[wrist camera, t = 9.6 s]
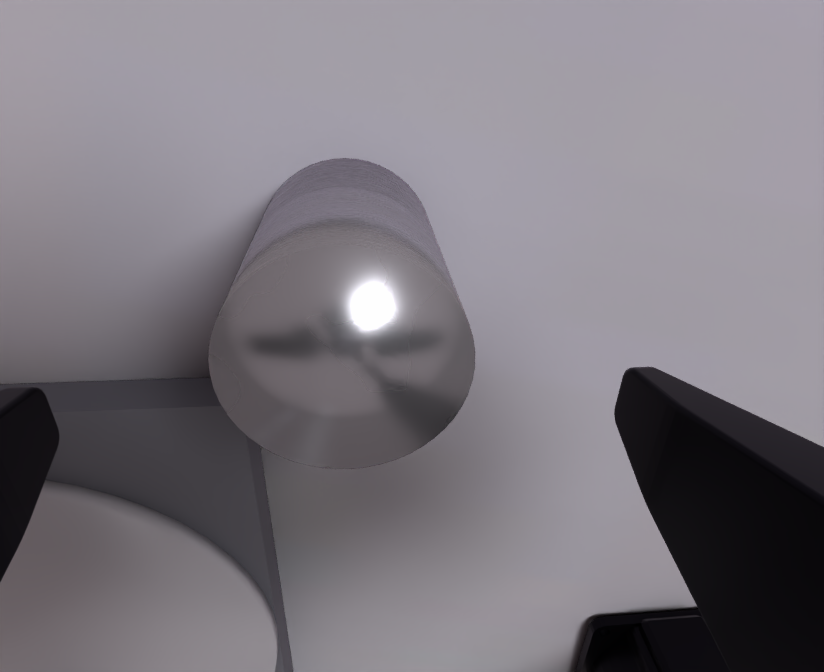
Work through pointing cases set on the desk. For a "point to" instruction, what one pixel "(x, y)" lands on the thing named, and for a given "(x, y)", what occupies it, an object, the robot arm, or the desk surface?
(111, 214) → the desk surface
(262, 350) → the cylinder
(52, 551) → the scale
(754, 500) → the robot arm
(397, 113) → the desk surface
